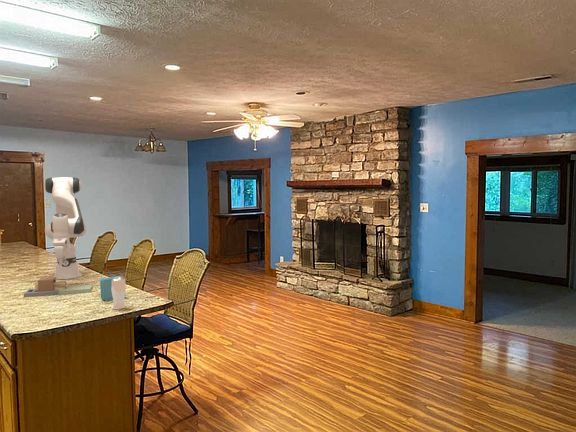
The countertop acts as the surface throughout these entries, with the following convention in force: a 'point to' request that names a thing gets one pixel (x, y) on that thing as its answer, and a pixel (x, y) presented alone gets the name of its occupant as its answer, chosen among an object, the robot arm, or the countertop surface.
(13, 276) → the countertop surface
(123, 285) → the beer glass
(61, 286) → the birch bar
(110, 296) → the data package
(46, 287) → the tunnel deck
